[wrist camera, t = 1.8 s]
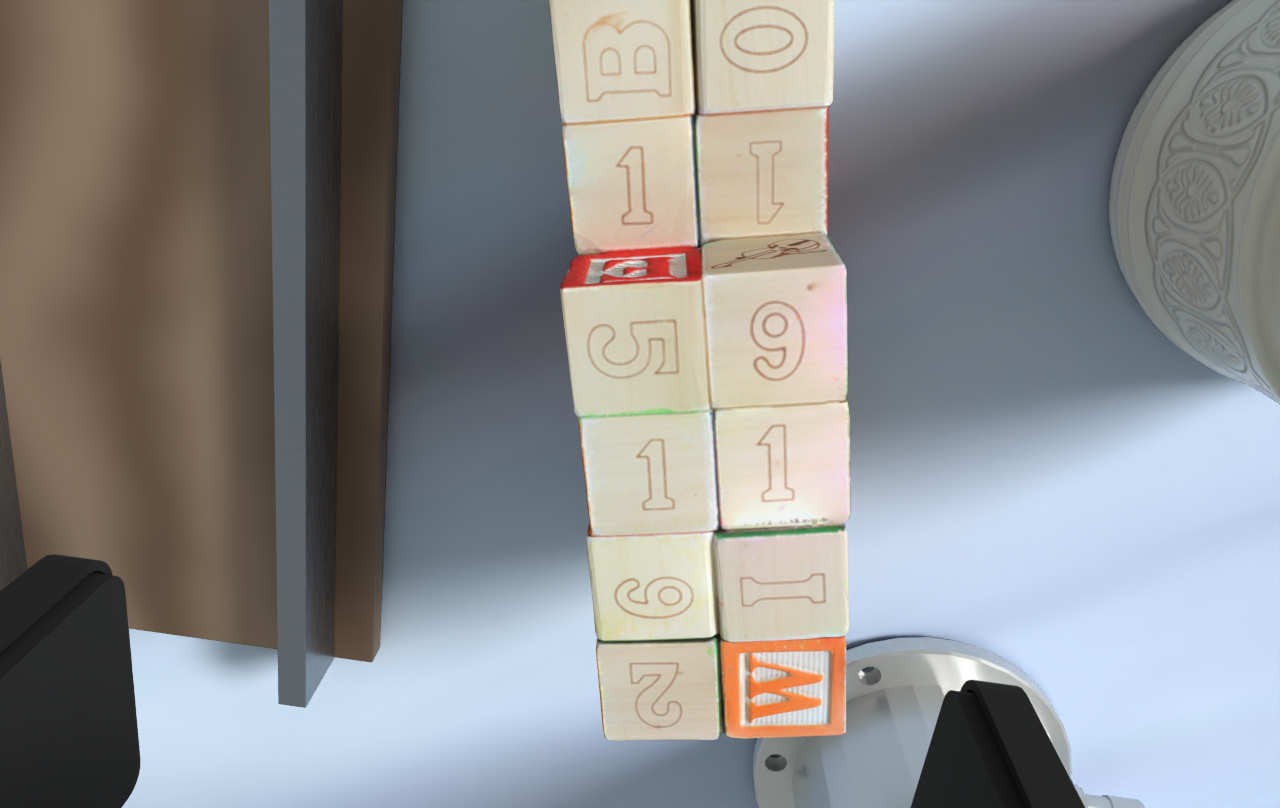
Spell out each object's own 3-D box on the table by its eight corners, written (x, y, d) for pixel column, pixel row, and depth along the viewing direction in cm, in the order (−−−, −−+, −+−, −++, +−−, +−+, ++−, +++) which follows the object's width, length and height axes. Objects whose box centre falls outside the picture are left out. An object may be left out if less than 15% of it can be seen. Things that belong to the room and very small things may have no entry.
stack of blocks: (579, -119, 28) (503, -230, 16) (792, -136, 27) (868, -262, 16) (629, 520, 35) (601, 750, 24) (795, 514, 35) (848, 746, 24)
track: (407, -136, 28) (363, -163, 24) (379, 646, 38) (346, 713, 34) (-132, -212, 28) (-260, -252, 24) (-12, 592, 38) (-89, 652, 34)
